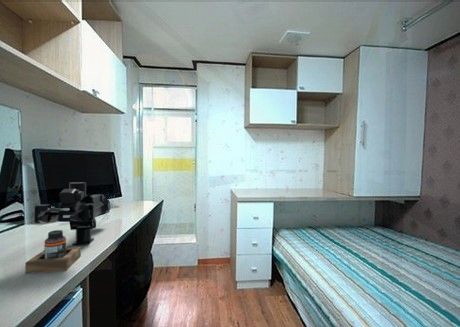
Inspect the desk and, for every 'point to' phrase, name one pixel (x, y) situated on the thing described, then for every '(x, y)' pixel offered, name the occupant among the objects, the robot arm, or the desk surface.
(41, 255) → the walnut pocket block
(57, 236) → the supplement bottle
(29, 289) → the desk surface
